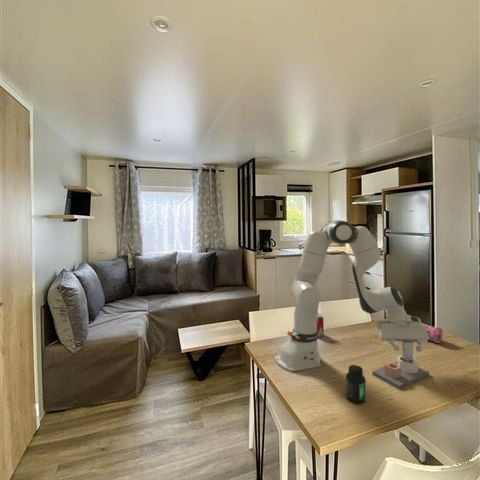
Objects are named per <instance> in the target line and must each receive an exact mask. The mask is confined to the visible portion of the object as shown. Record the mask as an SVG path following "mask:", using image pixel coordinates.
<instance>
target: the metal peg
mask: <svg viewBox="0 0 480 480" xmlns="http://www.w3.org/2000/svg"><path fill="white" fill-rule="evenodd" d="M401 349H402V354H401V356H402V361H404V362H406V363H413V358H414V342H411V341H408V340H403V342H402V347H401Z"/></svg>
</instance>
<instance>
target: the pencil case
mask: <svg viewBox="0 0 480 480" xmlns="http://www.w3.org/2000/svg"><path fill="white" fill-rule="evenodd" d="M421 324H422V325H423V326H424V327H425V329H426V331H427V333H428V335H429V339H428V341H431V342H434V343H436V344H440V343H442V342H443V341H442V340H443V330H442V328H441V327H439V326H437V327H436V326H430V325H427V324H424V323H421Z"/></svg>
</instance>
